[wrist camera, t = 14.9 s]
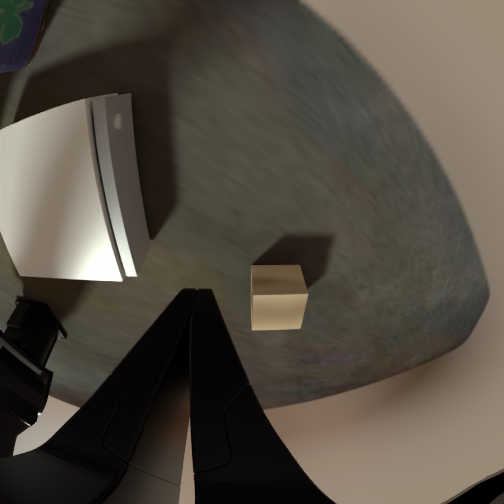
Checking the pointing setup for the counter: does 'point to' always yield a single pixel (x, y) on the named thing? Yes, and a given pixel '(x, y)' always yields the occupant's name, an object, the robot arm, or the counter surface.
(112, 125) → the tray
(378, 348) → the counter surface
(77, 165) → the panel
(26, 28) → the flask
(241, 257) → the counter surface
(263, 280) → the block
